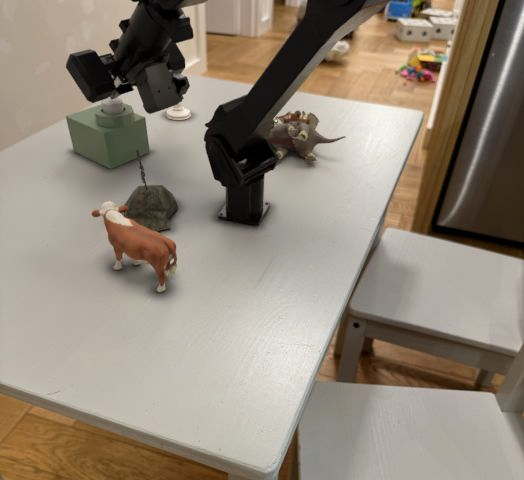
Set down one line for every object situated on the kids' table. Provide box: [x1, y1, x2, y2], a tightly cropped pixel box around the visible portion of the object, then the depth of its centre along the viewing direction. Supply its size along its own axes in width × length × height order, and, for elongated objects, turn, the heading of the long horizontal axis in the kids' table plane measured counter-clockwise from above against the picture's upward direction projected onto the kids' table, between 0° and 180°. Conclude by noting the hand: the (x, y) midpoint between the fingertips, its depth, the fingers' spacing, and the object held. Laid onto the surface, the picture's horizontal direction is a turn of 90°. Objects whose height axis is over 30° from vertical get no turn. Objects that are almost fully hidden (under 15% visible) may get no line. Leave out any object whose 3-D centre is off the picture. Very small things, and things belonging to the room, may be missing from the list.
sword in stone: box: [123, 148, 179, 232], centre depth 71 cm, size 10×8×12 cm
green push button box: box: [65, 102, 150, 170], centre depth 86 cm, size 11×9×8 cm
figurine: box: [268, 110, 347, 164], centre depth 92 cm, size 20×6×17 cm
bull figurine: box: [91, 201, 178, 293], centre depth 62 cm, size 4×13×8 cm, turn 51°
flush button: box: [100, 97, 124, 114], centre depth 82 cm, size 3×3×2 cm
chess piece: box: [166, 102, 192, 121], centre depth 99 cm, size 5×5×10 cm
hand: (111, 96), depth 81 cm, fingers closed
